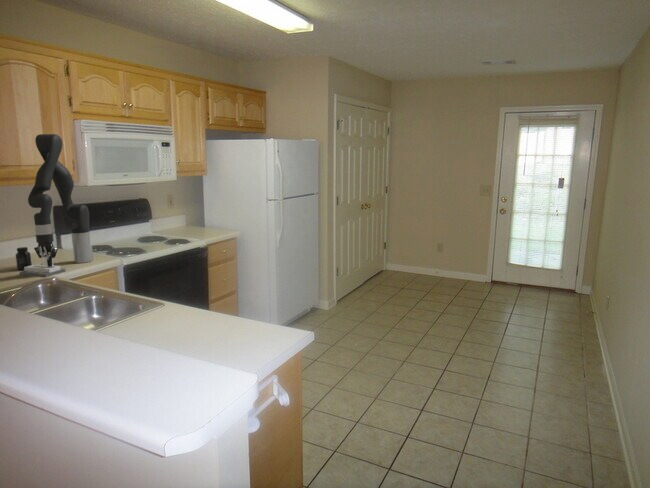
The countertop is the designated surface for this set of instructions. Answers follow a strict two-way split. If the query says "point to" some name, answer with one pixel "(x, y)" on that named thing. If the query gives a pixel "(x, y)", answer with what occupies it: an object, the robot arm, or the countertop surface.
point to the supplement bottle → (23, 258)
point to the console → (41, 270)
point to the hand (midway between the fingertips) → (48, 265)
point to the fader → (44, 261)
